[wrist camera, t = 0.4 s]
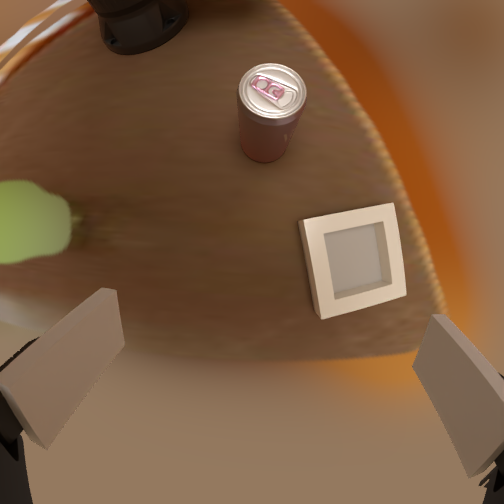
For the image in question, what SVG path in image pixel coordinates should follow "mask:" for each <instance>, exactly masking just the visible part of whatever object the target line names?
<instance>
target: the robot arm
mask: <svg viewBox="0 0 504 504" xmlns="http://www.w3.org/2000/svg"><path fill="white" fill-rule="evenodd" d="M87 1H88V2H89V4H90V5H91V6H92V8H93V9H94V10H95V12H96V13H97V14H98V18H99V25H100V31H101V37H102V39H103V41H104V43H105V44H106V45H107V47H108V48H109V49H110V50H111V51H113V52H115V53H118V54H124V55H130V54H137V53H142V52H145V51H148V50H151V49H153V48H156V47H158V46H160V45H162V44H163V43H165V42H167V41H168V40H170V39H171V38H172V37H173V36H175V35H176V34H177V33H178V32H179V31H180V30H181V29H182V27H183V26H184V25H185V23H186V21H187V18H188V14H189V11H188V7H187V3H186V0H87ZM124 346H125V341H124V336H123V330H122V325H121V319H120V312H119V306H118V299H117V291H116V290H114V289H108V288H100V289H99V290H98V291H96V292H95V293H94V294H93V295H91V296H90V297H89V298H87V299H86V300H85V301H84V302H82V303H81V304H80V305H79V306H77V307H76V308H75V309H74V310H72V311H71V312H70V313H69V314H67V315H66V316H65V317H64V318H62V319H61V320H60V321H59V322H57V323H56V324H55V325H54V326H53V327H51V328H50V329H49V330H48V331H47V332H45V333H44V334H43V335H42V336H41V337H38V338H36V339H34V340H32V341H30V342H28V343H27V344H26V345H24V347H22V348H21V349H20V351H17V352H16V353H15V354H14V355H13V357H11V358H10V359H8V360H7V361H6V362H5V363H4V364H3V365H2V366H1V367H0V504H33V502H32V497H31V493H30V488H29V483H28V476H27V470H26V463H25V455H24V445H23V439H22V436H21V435H20V433H21V432H22V430H23V429H24V431H25V432H26V434H27V435H28V436H29V438H30V439H31V441H33V442H35V443H36V444H38V445H39V446H41V447H43V448H44V449H46V450H48V448H49V447H50V445H51V444H52V442H53V441H54V439H55V438H56V437H57V435H58V434H59V432H60V431H61V430H62V428H63V427H64V425H65V424H66V422H67V421H68V420H69V418H70V417H71V415H72V414H73V413H74V411H75V410H76V409H77V407H78V406H79V405H80V403H81V402H82V400H83V399H84V398H85V397H86V395H87V393H88V392H89V391H90V390H91V388H92V387H93V386H94V384H95V383H96V382H97V381H98V379H99V378H100V376H101V375H102V374H103V373H104V371H105V370H106V369H107V367H108V366H109V365H110V364H111V362H112V361H113V360H114V358H115V357H116V356H117V355H118V353H119V352H120V351H121V349H122V348H123V347H124ZM412 367H413V369H414V371H415V372H416V374H417V376H418V378H419V380H420V381H421V383H422V385H423V387H424V389H425V390H426V392H427V394H428V396H429V397H430V399H431V401H432V403H433V405H434V407H435V409H436V411H437V413H438V414H439V416H440V418H441V420H442V422H443V424H444V426H445V428H446V430H447V432H448V434H449V436H450V438H451V441H452V443H453V445H454V446H455V449H456V451H457V453H458V455H459V458H460V460H461V462H462V464H463V466H464V469H465V471H466V473H467V476H468V478H470V477H473V476H475V475H478V474H480V473H482V472H484V471H485V470H486V469H487V468H488V467H489V466H490V465H491V464H492V463H493V461H495V463H496V465H497V466H496V467H495V468H494V469H493V470H492V471H491V472H490V473H489V474H488V475H487V476H486V477H485V478H484V479H483V480H482V481H481V482H480V484H479V486H481V485H483V484H484V483H485V482H486V481H487V480H488V479H489V482H488V483H487V484H486V485H485V486H484V487H486V488H487V491H486V494H485V498H484V501H483V504H504V377H503V376H502V375H501V374H499V373H498V372H497V371H496V370H495V369H494V368H493V366H492V365H491V364H490V363H489V362H488V361H487V360H486V358H485V357H484V356H483V355H482V354H481V353H480V351H479V350H478V349H477V348H476V347H475V346H474V345H473V344H472V343H471V342H470V340H469V339H468V338H467V337H466V336H465V335H464V334H463V333H462V332H461V331H460V330H459V329H458V328H457V326H455V324H454V323H453V322H452V321H451V320H450V319H449V318H448V317H447V316H446V315H445V314H431V317H430V320H429V323H428V326H427V329H426V332H425V335H424V338H423V340H422V343H421V346H420V348H419V351H418V353H417V356H416V358H415V361H414V363H413V366H412Z"/></svg>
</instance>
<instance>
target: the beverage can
mask: <svg viewBox="0 0 504 504" xmlns="http://www.w3.org/2000/svg"><path fill="white" fill-rule="evenodd" d="M306 95H307V91H306V86H305V83H304V81H303V80H302V78H301V77H300V76H299V75H298V74H297V73H296V72H295V71H294V70H292V69H291V68H289V67H286V66H284V65H280V64H275V63H266V64H261V65H258V66H255V67H253V68H251V69H250V70H248V71H247V72H246V73H245V74H244V75H243V77H242V78H241V80H240V83H239V86H238V89H237V106H238V117H239V128H240V140H241V146H242V149H243V151H244V152H245V154H246V155H247V156H248V157H249V158H251V159H253V160H255V161H257V162H264V163H265V162H272V161H274V160H276V159H278V158H279V157H281V156H282V155H283V153H284V152H285V150H286V148H287V146H288V143H289V141H290V139H291V137H292V135H293V132H294V130H295V128H296V126H297V124H298V121H299V119H300V117H301V115H302V113H303V111H304V108H305V106H306V101H307V97H306Z"/></svg>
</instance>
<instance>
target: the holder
mask: <svg viewBox="0 0 504 504" xmlns="http://www.w3.org/2000/svg"><path fill="white" fill-rule="evenodd" d="M298 226H299V231H300V236H301V241H302V246H303V251H304V256H305V262H306V267H307V272H308V278H309V283H310V289H311V295H312V300H313V306H314V311H315V312H316V313H317V315H318V316H319V317H320V318H321V319H325V318H329V317H333V316H337V315H341V314H344V313H348V312H352V311H355V310H359V309H362V308H366V307H369V306H373V305H376V304H379V303H383V302H386V301H389V300H392V299H396V298H399V297H402V296H405V295H406V284H405V274H404V266H403V258H402V250H401V243H400V237H399V230H398V224H397V219H396V213H395V208H394V203H388V204H383V205H378V206H372V207H367V208H361V209H356V210H351V211H346V212H340V213H335V214H330V215H325V216H320V217H315V218H310V219H305V220H300V221H298Z"/></svg>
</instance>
